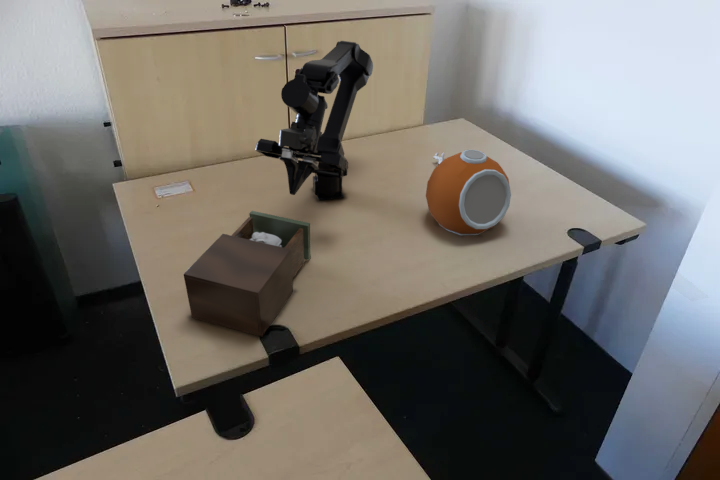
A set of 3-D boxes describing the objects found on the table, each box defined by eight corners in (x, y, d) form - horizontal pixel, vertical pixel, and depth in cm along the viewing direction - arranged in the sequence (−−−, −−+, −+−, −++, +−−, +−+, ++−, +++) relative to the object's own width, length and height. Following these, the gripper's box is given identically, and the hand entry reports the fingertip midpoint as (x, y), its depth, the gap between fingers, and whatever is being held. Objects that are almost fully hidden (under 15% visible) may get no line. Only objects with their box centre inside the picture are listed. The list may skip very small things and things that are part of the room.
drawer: (264, 233, 120) (261, 199, 115) (319, 245, 117) (318, 211, 112) (226, 277, 107) (221, 242, 102) (286, 293, 104) (284, 257, 99)
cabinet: (228, 275, 109) (222, 233, 103) (293, 291, 106) (291, 249, 100) (191, 317, 99) (183, 273, 93) (262, 337, 95) (258, 292, 89)
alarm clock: (447, 249, 119) (458, 180, 109) (410, 210, 132) (417, 145, 122) (518, 232, 125) (535, 165, 115) (476, 196, 138) (488, 133, 128)
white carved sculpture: (244, 258, 111) (241, 230, 107) (276, 249, 114) (274, 221, 110) (255, 274, 106) (253, 246, 102) (288, 264, 110) (287, 236, 106)
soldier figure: (450, 165, 155) (472, 171, 144) (440, 178, 155) (461, 185, 144) (433, 147, 151) (454, 152, 140) (422, 161, 151) (442, 167, 140)
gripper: (252, 103, 108) (235, 179, 108) (340, 117, 104) (322, 196, 104) (273, 120, 119) (258, 188, 119) (353, 133, 115) (337, 205, 114)
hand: (292, 194), depth 114 cm, fingers closed
